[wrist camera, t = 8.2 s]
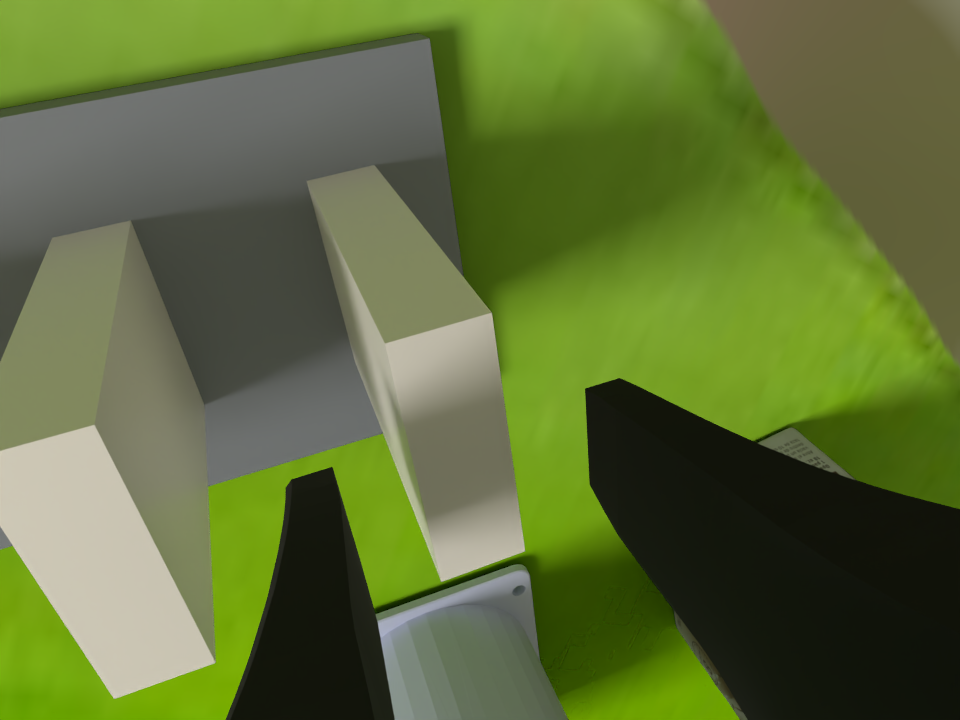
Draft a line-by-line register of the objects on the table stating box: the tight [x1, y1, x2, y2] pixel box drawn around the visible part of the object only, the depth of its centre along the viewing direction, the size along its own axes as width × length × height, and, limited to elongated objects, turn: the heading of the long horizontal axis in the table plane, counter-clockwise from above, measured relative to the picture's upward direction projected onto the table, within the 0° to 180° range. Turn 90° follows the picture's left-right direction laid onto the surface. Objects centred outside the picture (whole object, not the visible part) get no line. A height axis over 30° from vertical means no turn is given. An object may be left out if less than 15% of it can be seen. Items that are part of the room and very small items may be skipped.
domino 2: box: [307, 165, 525, 582], centre depth 15 cm, size 5×2×8 cm, turn 7°
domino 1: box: [0, 221, 216, 699], centre depth 14 cm, size 5×2×8 cm, turn 6°
